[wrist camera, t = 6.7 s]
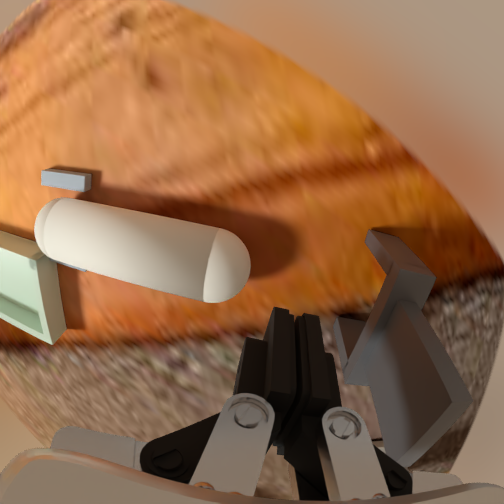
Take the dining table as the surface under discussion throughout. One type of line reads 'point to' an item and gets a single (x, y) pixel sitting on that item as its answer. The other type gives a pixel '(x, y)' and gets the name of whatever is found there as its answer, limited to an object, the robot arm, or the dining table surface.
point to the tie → (402, 356)
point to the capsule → (144, 249)
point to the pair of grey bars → (66, 187)
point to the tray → (30, 289)
